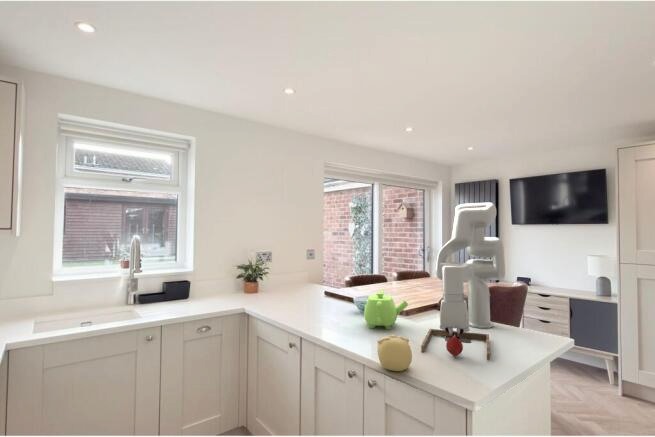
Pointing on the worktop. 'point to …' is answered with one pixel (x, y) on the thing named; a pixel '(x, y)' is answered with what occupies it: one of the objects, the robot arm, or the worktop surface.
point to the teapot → (382, 310)
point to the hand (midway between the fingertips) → (455, 345)
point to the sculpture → (394, 353)
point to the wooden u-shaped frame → (463, 337)
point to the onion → (454, 346)
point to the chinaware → (361, 302)
